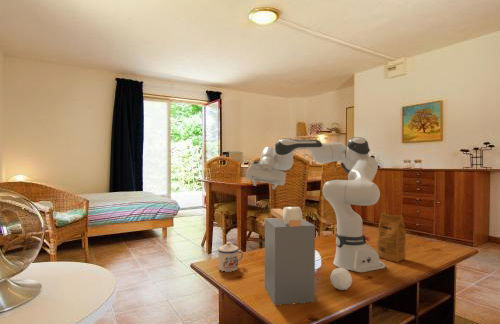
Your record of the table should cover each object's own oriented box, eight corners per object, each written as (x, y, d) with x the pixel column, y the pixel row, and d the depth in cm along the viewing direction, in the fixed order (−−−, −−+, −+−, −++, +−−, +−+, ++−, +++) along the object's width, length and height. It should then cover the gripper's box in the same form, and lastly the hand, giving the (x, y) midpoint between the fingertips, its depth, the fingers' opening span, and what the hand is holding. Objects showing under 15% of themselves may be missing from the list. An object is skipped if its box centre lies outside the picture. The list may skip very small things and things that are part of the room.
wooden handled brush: (281, 213, 120) (281, 198, 120) (302, 226, 97) (302, 208, 97) (269, 213, 119) (269, 199, 119) (288, 226, 96) (288, 208, 96)
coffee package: (385, 253, 150) (385, 210, 150) (408, 260, 140) (409, 214, 140) (373, 256, 145) (373, 212, 145) (396, 263, 134) (397, 216, 134)
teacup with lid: (222, 274, 122) (222, 246, 122) (215, 267, 130) (215, 241, 130) (247, 269, 127) (248, 242, 127) (239, 262, 135) (239, 237, 135)
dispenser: (299, 284, 112) (299, 217, 112) (314, 302, 98) (314, 225, 98) (264, 286, 109) (264, 218, 109) (274, 305, 95) (275, 227, 95)
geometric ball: (335, 294, 109) (325, 273, 113) (354, 286, 110) (343, 266, 114) (338, 292, 103) (327, 270, 107) (358, 284, 103) (347, 262, 107)
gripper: (285, 176, 154) (284, 194, 143) (247, 169, 155) (243, 187, 144) (287, 167, 150) (286, 185, 139) (248, 160, 151) (244, 178, 140)
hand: (264, 186), depth 142 cm, fingers open, 8 cm apart
